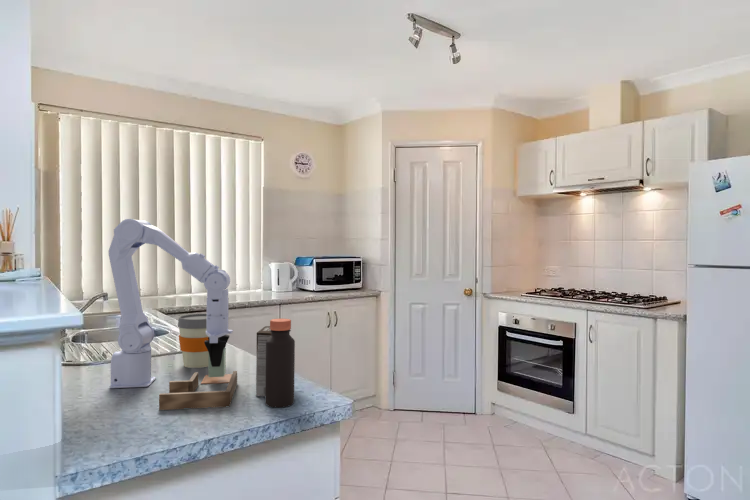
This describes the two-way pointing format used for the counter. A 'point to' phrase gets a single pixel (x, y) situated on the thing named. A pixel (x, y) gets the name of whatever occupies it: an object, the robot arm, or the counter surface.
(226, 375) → the tile
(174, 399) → the channel
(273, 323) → the bottle
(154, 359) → the counter surface
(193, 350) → the reusable coffee cup
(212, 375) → the sage block
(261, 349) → the coffee box
